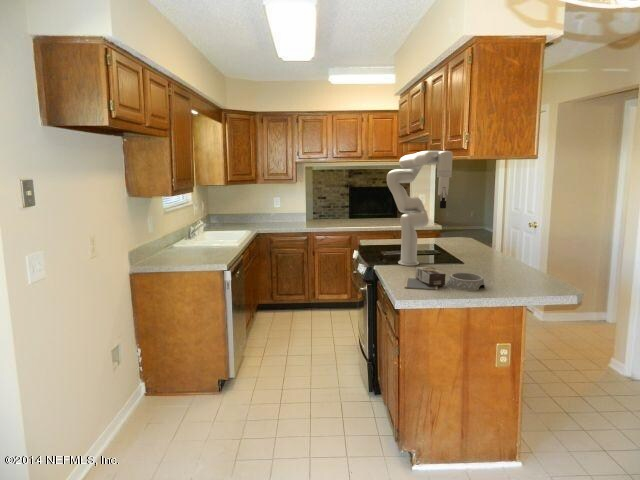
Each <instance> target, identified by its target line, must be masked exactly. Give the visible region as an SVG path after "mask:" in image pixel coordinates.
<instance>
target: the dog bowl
mask: <svg viewBox="0 0 640 480" xmlns="http://www.w3.org/2000/svg"><path fill="white" fill-rule="evenodd" d="M483 285H484V286H483ZM447 286H448V287H449V288H451V289H455V290H457V291H464V290H467V292H476V291H475V290H478V291H479V289H480V287H481V286H483V287H484V288H485V281H484V277H483V276H482V275H480V274H478V273H473V272H461V271H460V272H453V273H451V274H450V275H449V278H448V282H447Z"/></svg>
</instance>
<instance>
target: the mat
mask: <svg viewBox="0 0 640 480" xmlns="http://www.w3.org/2000/svg"><path fill="white" fill-rule="evenodd" d="M438 287H439V286H430V287H429V286H428V285H426V284H424V283H423V282H421V281H419V280H418V279H416V277H414V278H412V277H406V278H405V283H404V289H412V290H428V291H439V290H438Z"/></svg>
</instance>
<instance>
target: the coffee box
mask: <svg viewBox="0 0 640 480" xmlns="http://www.w3.org/2000/svg"><path fill="white" fill-rule="evenodd" d="M415 278H416V279H418V280H419V281H421V282H423V283H424V284H426V285H428V286H429V287H430V286H437V287H442V286H443V287H445V285H446V278H447V277H446V273H444V272H443V271H440V270H439V269H436V268H434V267H433V266H420V267H419V266H416V267H415Z"/></svg>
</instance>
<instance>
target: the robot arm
mask: <svg viewBox="0 0 640 480" xmlns="http://www.w3.org/2000/svg"><path fill="white" fill-rule="evenodd" d="M453 156H454V155H453V152H452V151H450V150H422V151H419V152H416V153H410V154H405V155H404V156H402V157H400V159H399V162H398V164H399V166H400V168H396V169H395V168H394V169H392V170H390V171H389V172H388V173H387V175H386V184H387V187H388V189H389V191H390V192H391V194H392V196H393V199H394V202H395V205H396V208H397V209H398V211H399V212H400V213H403V214H402V215H400V219H399V221H400V228H401V229H400V231H401V238H400V239H401V242H400V244H401V245H400V246H401V247H400V259H399V260H398V261H397V263H398V264H399V265H402V266H405V267H406V266H408V267H413V266H418V265H419V264H420V262H419V261H418V258H417V257H418V253H417V252H418V233H417V230H416V229H417V228H424V227H426V226H427V225H429V216H428V214H427V213H428V212H427V211H426V209H425V206H424V204H423V201H422V200H421V198H419V197H418V196H409V195H408V193H407V190H406V189H405V188H404V186H403V185H401V184H406V183H407V184H409V183H413V182H414V180H416V179H417V176H418V175H419V173H420V171H421V169H422V168H423V166H430V165H431V166H432V165H435V166H436V165H437V172H436V175H437V176H436V178H438V183H437V184H438V186H437V187H438V189H437V195H438V196H439V197H440V201H439V208H440V209H446V208H447V196H448V195H449V186H450V178H452V173H453Z"/></svg>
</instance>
